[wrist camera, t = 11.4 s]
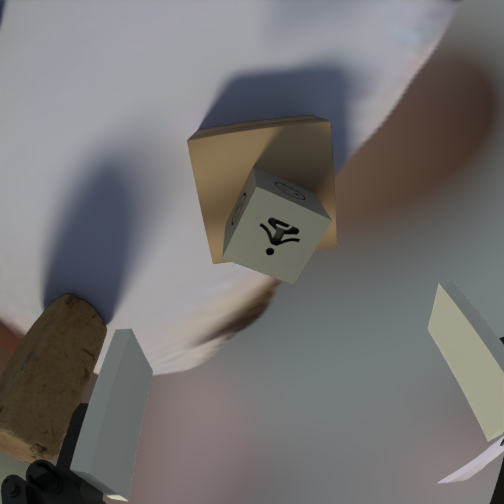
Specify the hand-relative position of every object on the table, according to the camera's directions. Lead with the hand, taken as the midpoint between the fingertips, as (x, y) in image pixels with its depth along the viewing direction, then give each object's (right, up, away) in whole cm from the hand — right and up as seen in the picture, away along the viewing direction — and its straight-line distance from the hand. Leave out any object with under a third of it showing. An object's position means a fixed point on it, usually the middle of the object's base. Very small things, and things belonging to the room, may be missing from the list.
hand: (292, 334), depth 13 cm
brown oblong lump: (-24, -5, +23) cm, 34 cm away
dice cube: (0, +7, +11) cm, 13 cm away
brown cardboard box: (-1, +10, +16) cm, 19 cm away
